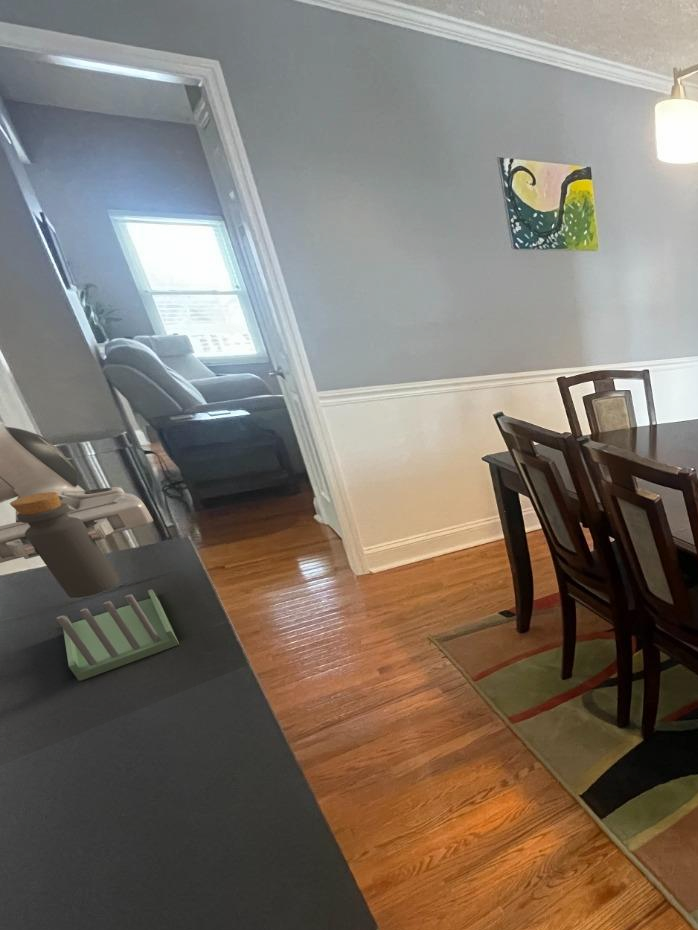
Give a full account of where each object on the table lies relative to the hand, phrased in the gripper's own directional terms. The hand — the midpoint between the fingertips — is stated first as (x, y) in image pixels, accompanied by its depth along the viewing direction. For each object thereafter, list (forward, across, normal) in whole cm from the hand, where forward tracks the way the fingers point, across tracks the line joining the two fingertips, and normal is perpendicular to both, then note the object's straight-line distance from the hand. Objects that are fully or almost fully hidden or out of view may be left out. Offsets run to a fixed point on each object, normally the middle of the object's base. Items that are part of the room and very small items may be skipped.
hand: (64, 543), depth 87 cm
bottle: (-1, 0, +8) cm, 8 cm away
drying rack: (+2, 0, +16) cm, 16 cm away
